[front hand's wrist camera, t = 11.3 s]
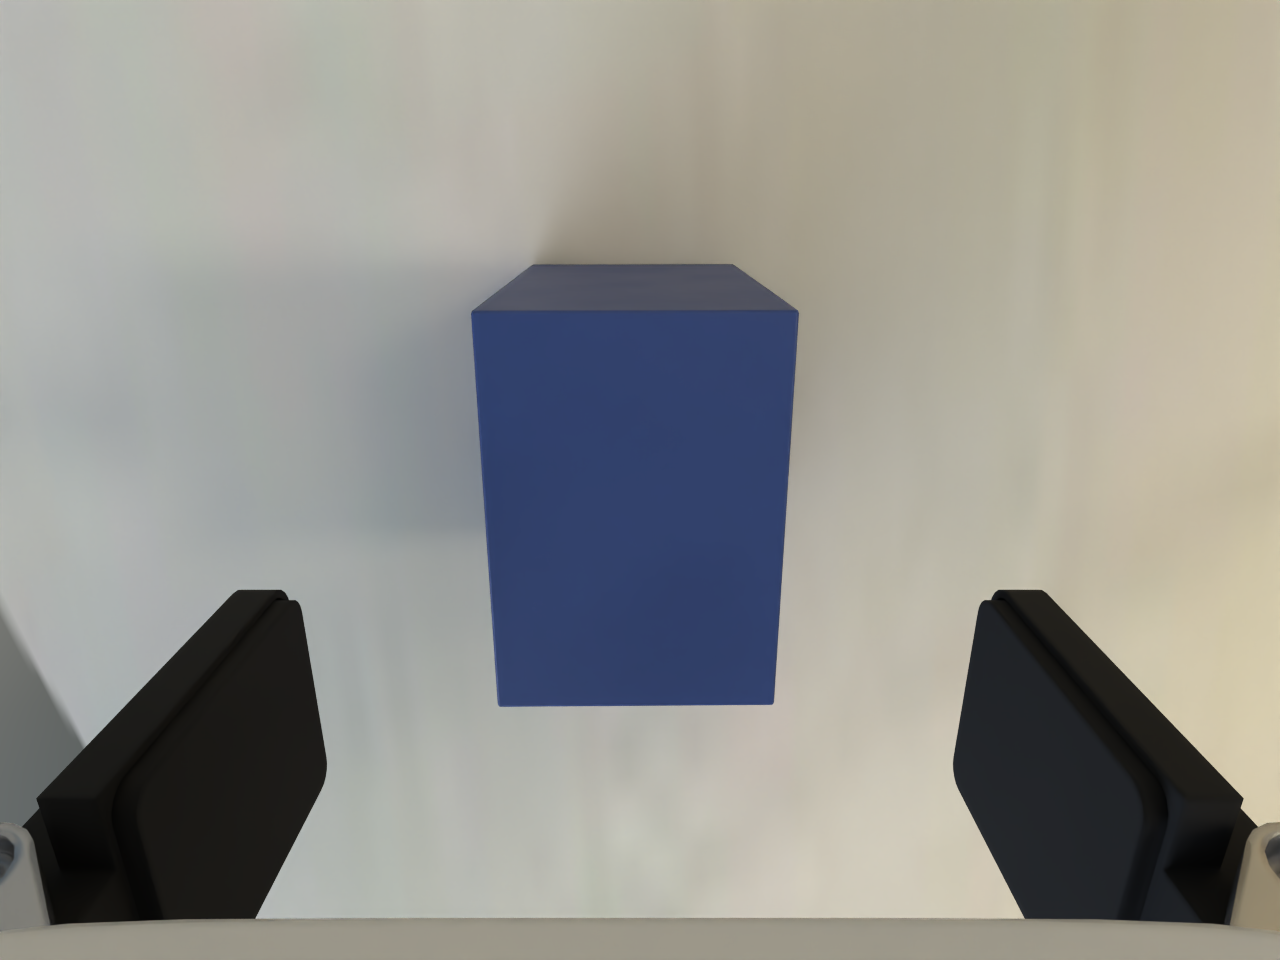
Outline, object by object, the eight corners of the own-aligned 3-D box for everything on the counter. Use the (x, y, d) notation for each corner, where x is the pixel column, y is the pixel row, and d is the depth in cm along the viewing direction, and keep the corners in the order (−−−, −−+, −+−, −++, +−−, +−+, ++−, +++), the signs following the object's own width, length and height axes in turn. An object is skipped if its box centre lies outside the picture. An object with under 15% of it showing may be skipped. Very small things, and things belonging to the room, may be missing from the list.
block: (734, 264, 25) (799, 310, 15) (724, 528, 28) (774, 705, 18) (531, 264, 25) (470, 310, 15) (543, 529, 28) (497, 708, 18)
